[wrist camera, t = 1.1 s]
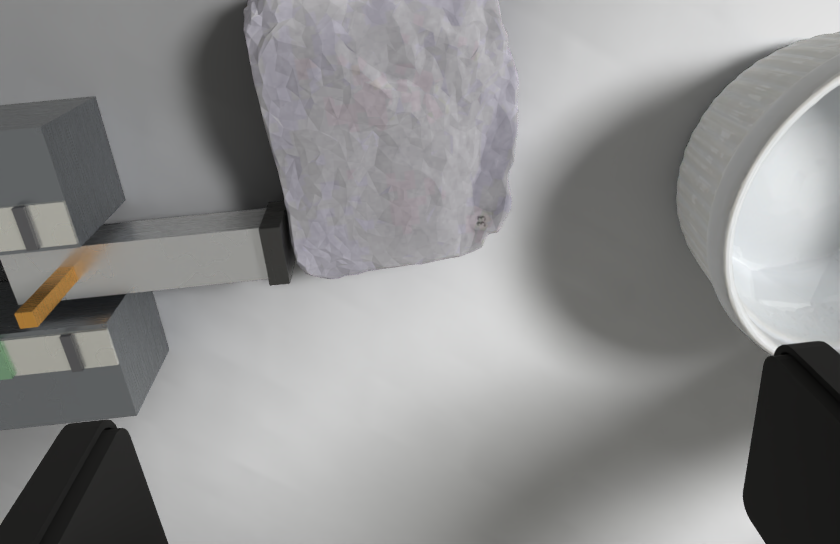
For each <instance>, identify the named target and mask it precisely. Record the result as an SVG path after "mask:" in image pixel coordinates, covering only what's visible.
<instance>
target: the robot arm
mask: <svg viewBox="0 0 840 544" xmlns="http://www.w3.org/2000/svg"><path fill="white" fill-rule="evenodd" d="M743 502H744V506H745V510H746V512H747V515H748V517H749V518H750V520H751V522H752V523H753V525H754V526H755V528H756V529H757V531H758V532H759V534H760V536H761V537H762V539H763V540H764V542H765V543H766V544H840V354H839V353H838V352H837V351H836V350H835V349H833V348H832V347H831V346H830V345H829V344H827V343H825V342H824V341H811V342H802V343H793V344H784V345H781V346H779V347H778V348H777V349H776V350H775V353H774V356H769V357H767V358H766V360H765V362H764V365H763V371H762V377H761V384H760V390H759V396H758V402H757V408H756V415H755V421H754V427H753V433H752V439H751V446H750V452H749V458H748V464H747V470H746V477H745V483H744V489H743ZM0 544H168V541H167V539H166V536H165V533H164V530H163V527H162V525H161V522H160V519H159V516H158V513H157V510H156V508H155V505H154V502H153V499H152V496H151V493H150V491H149V488H148V485H147V482H146V479H145V477H144V474H143V471H142V468H141V465H140V462H139V460H138V457H137V454H136V451H135V448H134V445H133V443H132V440H131V437H130V435H129V433H128V431H127V430H126V429H124V428H118V429H117V427H116V425H115V424H114V423H113V422H112V421H111V420H99V421H90V422H81V423H72V424H68V425H66V426H65V427H64V428H63V429H62V430H61V432H60V433H59V435H58V436H57V438H56V439H55V441H54V443H53V444H52V446H51V447H50V449H49V450H48V452H47V453H46V455H45V457H44V458H43V460H42V461H41V463H40V464H39V466H38V467H37V469H36V470H35V472H34V474H33V475H32V477H31V478H30V480H29V481H28V483H27V484H26V486H25V488H24V489H23V491H22V492H21V494H20V495H19V497H18V498H17V500H16V502H15V503H14V505H13V506H12V508H11V509H10V511H9V512H8V514H7V516H6V517H5V519H4V520H3V522H2V523H1V525H0Z"/></svg>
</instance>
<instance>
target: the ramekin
mask: <svg viewBox="0 0 840 544" xmlns="http://www.w3.org/2000/svg"><path fill="white" fill-rule="evenodd" d="M676 202H677V215H678V218H679V220H680V226H681V230H682V232H683V234H684V235H685V241H686V243H687V246H688V247H689V249H690V251H691V252H692V254H693V255H694V257H695V259H696V261H697V263H698V264H699V266H700V267H701V269H702V270H703V272H704V273H705V274H706V276H707V277H708V279H709V280H710V282H711V283H712V285H713V287H714V290H715V293H716V295H717V297H718V299H719V301H720V303H721V305H722V307H723V309H724V310H725V312H726V313H727V315H728V316H729V317H730V319H731V320H732V321H733V322H734V324H735V325H736V326H737V327H738V328H739V329H740V330H741V331H742V332H743V333H744V334H745V335H747V336H748V337H749V338H750V339H751V340H752V341H753V342H754V343H756V344H757V345H758V346H759V347H760V348H762V349H763V350H764V351H766V352H767V353H769V354H770V355H772V356H774V353H775V350H776V349H777V348H778V347H779V346H781V345H784V344H793V343H802V342H811V341H824V342H825V343H827V344H829V345H830V346H831V347H832V348H833V349H835V350H836V351H837V352H838V353H839V354H840V32H837V33H833V34H824V35H818V36H815V37H812V38H810V39H805V40H800V41H797V42H795V43H793V44H791V45H789V46H787V47H784V48H781V49H779V50H776V51H775V52H773V53H772V54H770V55H769V56H767V57H765V58H762V59H760V60H758V61H757V62H756V63H754V64H753V65H752V66H751V67H750V68H748V69H746V70H745V71H743V72H742V73H741V74H739V76H738V77H737V78H736V79H735V80H733V81H732V82H731V83H729V84H728V85H727V86H726V87H725V88H724V90H723V91H722V92H721V93H720V94H719V95H718V96H717V97H716V98H715V99H714V100H713V102H712V103H711V105H710V106H709V108H708V109H707V111H706V112H705V113H704V114H703V116H702V117H701V119H700V122H699V124H698V125H697V127H696V128H695V129H694V131H693V132H692V134H691V138H690V141H689V143H688V145H687V147H686V148H685V151H684V158H683V161H682V163H681V165H680V168H679V177H678V180H677V196H676Z"/></svg>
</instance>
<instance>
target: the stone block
mask: <svg viewBox="0 0 840 544" xmlns="http://www.w3.org/2000/svg"><path fill="white" fill-rule="evenodd" d="M243 14H244V18H245V19H244V29H243V30H244V34H245V37H246V43H247V48H248V53H249V60H250V65H251V70H252V75H253V80H254V85H255V88H256V92H257V96H258V100H259V104H260V108H261V112H262V117H263V121H264V125H265V129H266V132H267V136H268V140H269V143H270V146H271V150H272V153H273V156H274V159H275V163H276V166H277V169H278V174H279V178H280V182H281V186H282V190H283V195H284V202H285V206H286V210H287V214H288V221H289V229H290V237H291V244H292V247H293V250H294V255H295V259H296V262H297V264H298V265H299V266H300V268H301V269H302V270H303V271H304V272H305V273H306V274H309V275H312V276H317V277H322V278H327V279H335V278H341V277H343V276H345V275H356V274H360V273H363V272H366V271H370V270H378V269H384V268H393V267H399V266H405V265H413V264H424V263H428V262H433V261H438V260H443V259H448V258H453V257H459V256H462V255H465V254H467V253H470V252H473V251H475V250H477V249H479V248H481V247H482V245H483V243H484V241H485V239H486V237H487V235H488V234H490V233H496V232H498V231H499V230H500V229H501V227H502V224H503V222H504V220H505V218H506V217H507V215H508V213H509V212H510V210H511V204H512V197H511V191H510V187H509V181H508V177H509V170H510V168H511V166H512V164H513V162H514V155H515V146H516V138H517V131H518V108H517V103H518V84H519V82H518V73H517V69H516V66H515V63H514V60H513V57H512V53H511V51H510V49H509V47H508V46H507V45H508V33H507V31H506V29H505V28H504V26H503V23H502V20H501V12H500V7H499V2H498V0H248V3H247V7H246V8H245V9H244V12H243Z"/></svg>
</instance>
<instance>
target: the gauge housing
mask: <svg viewBox="0 0 840 544" xmlns="http://www.w3.org/2000/svg"><path fill="white" fill-rule="evenodd" d="M124 201H125V197H124V194H123V190H122V187H121V183H120V180H119V176H118V173H117V170H116V166H115V163H114V159H113V156H112V152H111V149H110V146H109V142H108V139H107V135H106V132H105V128H104V125H103V122H102V118H101V115H100V111H99V108H98V104H97V101H96V98H95V96H94V97H84V98H73V99H63V100H53V101H42V102H32V103H21V104H11V105H1V106H0V255H10V254H20V253H30V252H40V251H49V250H59V249H69V248H79V247H81V246H82V245H83V244H84V243H85V242H86V241H87V240H88V239H89V238H90V237H91V236H92V235H93V234H94V233H95V232H96V231H97V230H98V229H99V227H100V226H101V225H102V224H103V223H104V222H105V221H106V220H107V219H108V218H109V217H110V216H111V215H112V214H113V213H114V212H115V211H116V210H117V208H118V207H119V206H120V205H121V204H122V203H123V202H124ZM22 305H23V304H22ZM22 305H18V303H17V300H16V298H15V295H14V293H13V290H12V288H11V285H10V283H9V281H6V282H0V430H7V429H17V428H26V427H35V426H44V425H54V424H63V423H72V422H81V421H91V420H100V419H109V418H118V417H127V416H137V414H138V412H139V410H140V408H141V406H142V404H143V402H144V400H145V398H146V396H147V394H148V392H149V390H150V388H151V386H152V384H153V382H154V380H155V377H156V375H157V373H158V371H159V369H160V367H161V365H162V363H163V361H164V359H165V357H166V355H167V353H168V351H169V348H168V344H167V341H166V337H165V334H164V331H163V327H162V324H161V320H160V317H159V313H158V310H157V307H156V303H155V300H154V296H153V293H152V291H147V292H138V293H128V294H118V295H109V296H99V297H89V298H80V299H70V300H61V301H60V302H59V303H58V304H57V305H56V306H55V308H54V309H53V310H52V311H51V312H50V313H49V315H48V316H47V317H46V318H45V319H44V320H43V322H42V323H41V324H40V325H39V326H38V327H33V328H23V329H20V327H19V325H18V322H17V320H16V317H15V315H14V313H15V312H16V311H17V310H18V309H19V308H20V307H21V306H22Z"/></svg>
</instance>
